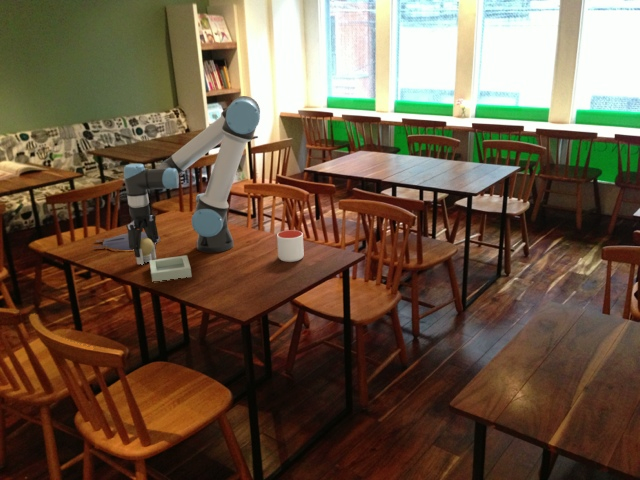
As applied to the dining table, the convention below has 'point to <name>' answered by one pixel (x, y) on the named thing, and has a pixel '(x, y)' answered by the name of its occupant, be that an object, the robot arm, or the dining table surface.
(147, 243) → the light bulb
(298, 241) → the cup
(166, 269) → the tray
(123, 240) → the toy spaceship
